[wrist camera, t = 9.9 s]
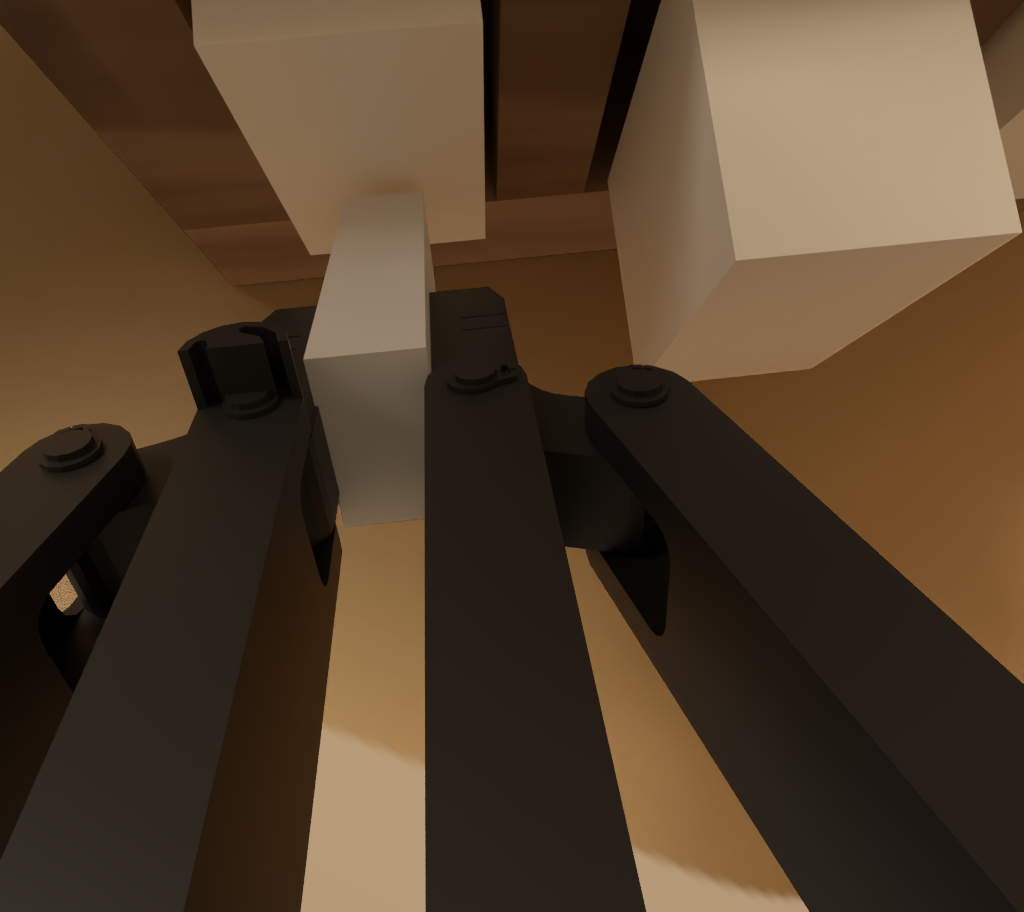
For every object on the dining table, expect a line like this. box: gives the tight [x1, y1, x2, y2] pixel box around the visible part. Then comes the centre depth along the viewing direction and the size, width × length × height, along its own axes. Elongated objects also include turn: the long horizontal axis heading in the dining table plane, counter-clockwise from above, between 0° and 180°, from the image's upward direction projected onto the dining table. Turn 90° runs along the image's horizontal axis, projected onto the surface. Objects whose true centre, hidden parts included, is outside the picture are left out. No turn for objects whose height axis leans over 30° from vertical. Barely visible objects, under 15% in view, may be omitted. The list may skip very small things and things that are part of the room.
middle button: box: [607, 0, 1022, 382], centre depth 14 cm, size 5×4×7 cm
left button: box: [191, 0, 485, 255], centre depth 14 cm, size 5×4×7 cm
